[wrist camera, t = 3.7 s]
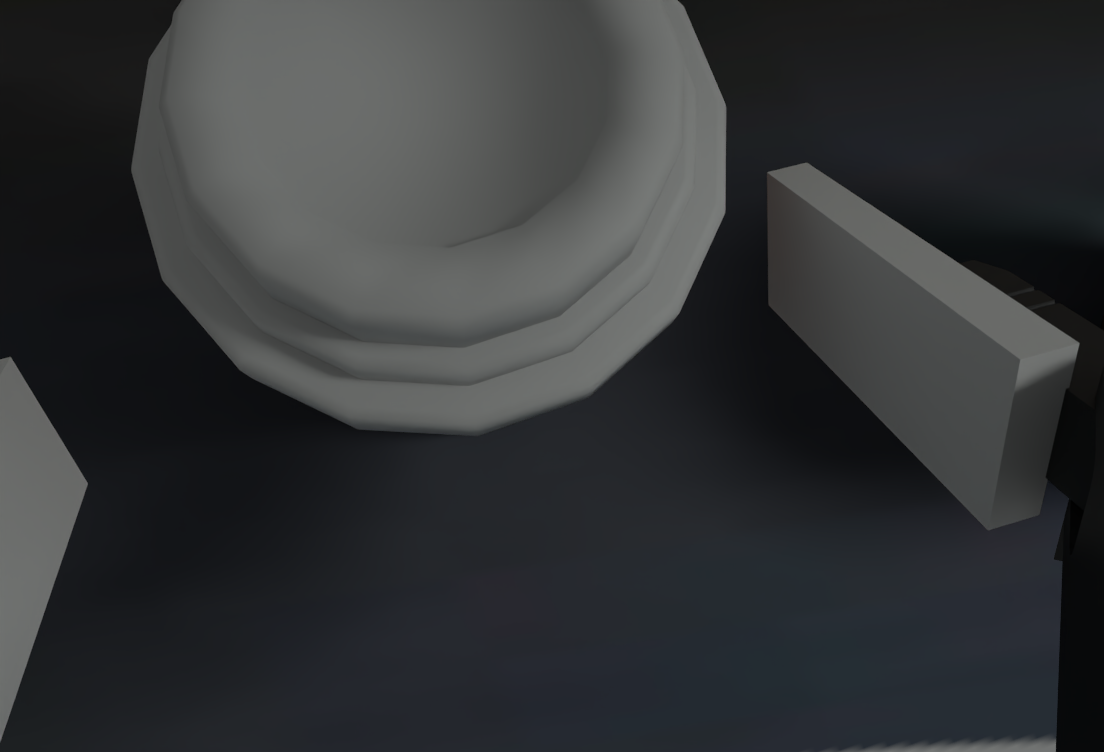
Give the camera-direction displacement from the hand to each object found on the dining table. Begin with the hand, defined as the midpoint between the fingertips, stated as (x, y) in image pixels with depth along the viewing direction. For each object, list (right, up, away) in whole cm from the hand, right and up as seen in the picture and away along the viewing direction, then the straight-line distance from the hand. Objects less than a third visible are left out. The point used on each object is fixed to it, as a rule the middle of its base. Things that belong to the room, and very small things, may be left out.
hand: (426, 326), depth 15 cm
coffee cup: (0, +1, +8) cm, 8 cm away
